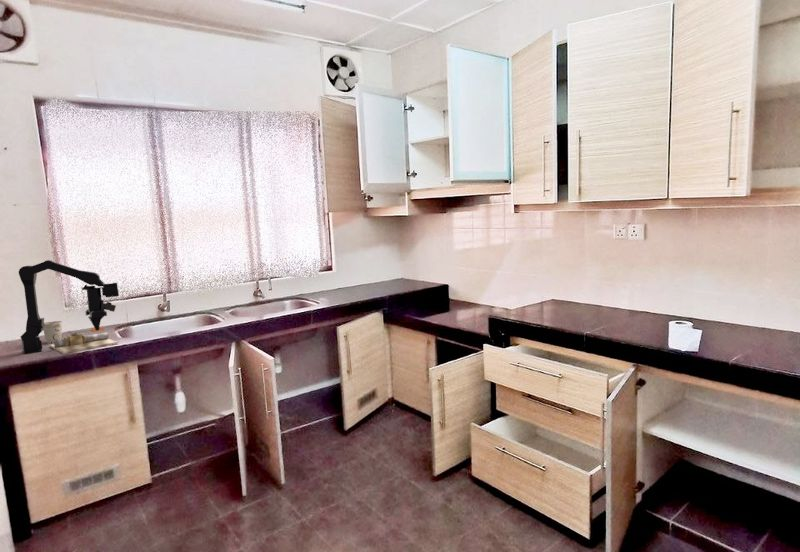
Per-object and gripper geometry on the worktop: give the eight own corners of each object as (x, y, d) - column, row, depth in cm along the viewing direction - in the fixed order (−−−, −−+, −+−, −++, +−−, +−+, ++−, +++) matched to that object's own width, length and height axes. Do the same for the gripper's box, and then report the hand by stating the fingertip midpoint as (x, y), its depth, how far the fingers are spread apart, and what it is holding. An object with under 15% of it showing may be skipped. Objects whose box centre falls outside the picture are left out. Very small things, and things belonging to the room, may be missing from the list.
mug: (49, 344, 239) (46, 324, 238) (36, 342, 245) (34, 323, 245) (67, 340, 246) (65, 321, 246) (54, 339, 253) (52, 320, 252)
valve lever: (71, 335, 230) (70, 330, 230) (71, 334, 232) (71, 330, 232) (103, 331, 237) (103, 327, 236) (103, 330, 239) (103, 326, 239)
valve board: (63, 353, 217) (62, 341, 216) (50, 346, 233) (48, 335, 232) (117, 344, 233) (116, 332, 233) (101, 338, 249) (100, 328, 249)
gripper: (117, 297, 232) (120, 329, 233) (109, 296, 246) (112, 326, 247) (90, 299, 225) (93, 333, 226) (83, 298, 239) (86, 329, 240)
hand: (97, 330), depth 235 cm, fingers closed
